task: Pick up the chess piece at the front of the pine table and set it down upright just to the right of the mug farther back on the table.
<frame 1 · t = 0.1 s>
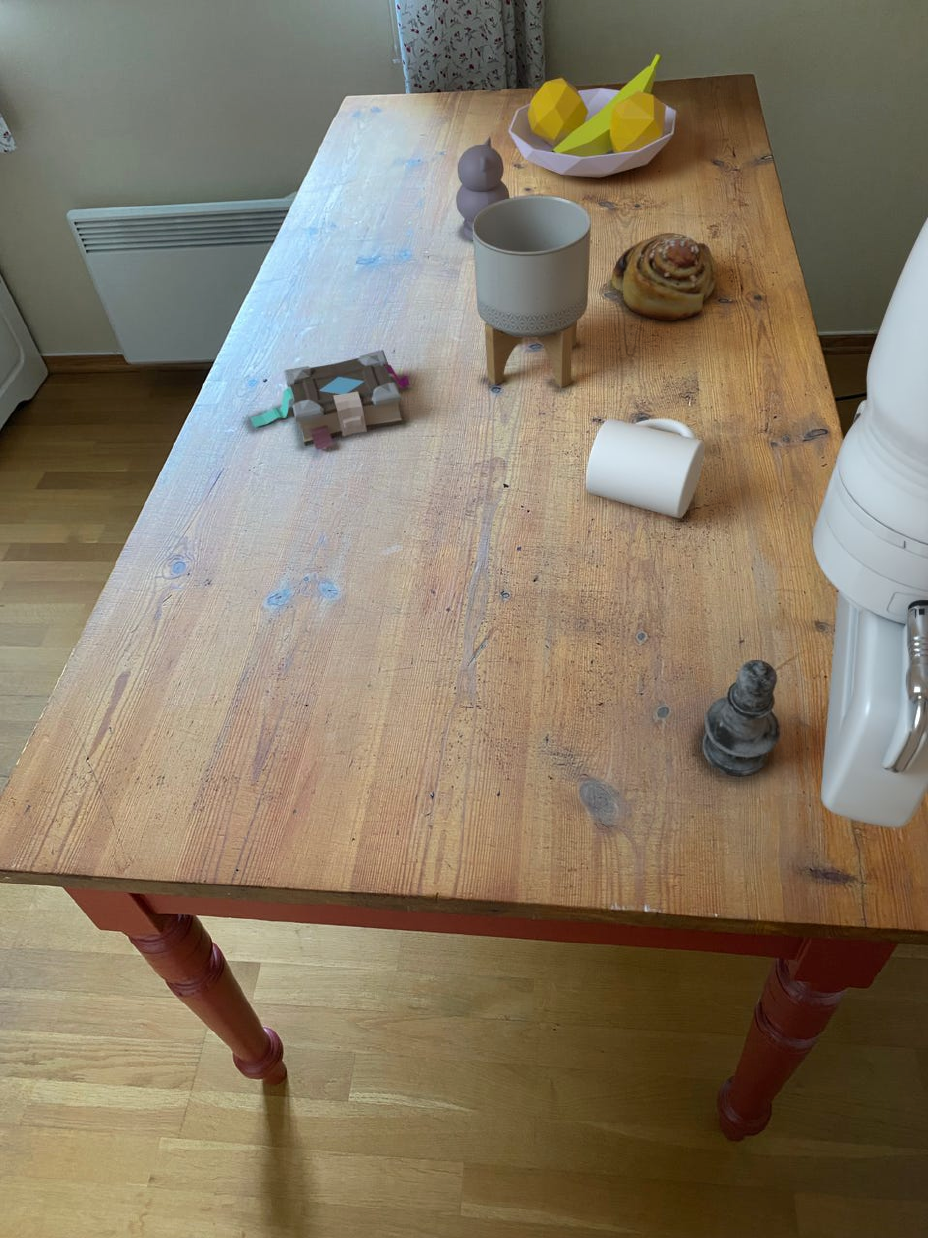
hand: (844, 707, 49), 23 cm above the table, tool pointing down, fingers open, 8 cm apart
mug: (647, 486, 95), on the table
planter: (532, 363, 111), on the table
book: (336, 418, 107), on the table
chess piece: (734, 749, 74), on the table
fruit bowl: (596, 158, 147), on the table
grey bird figurine: (484, 231, 133), on the table
pastry: (665, 290, 120), on the table
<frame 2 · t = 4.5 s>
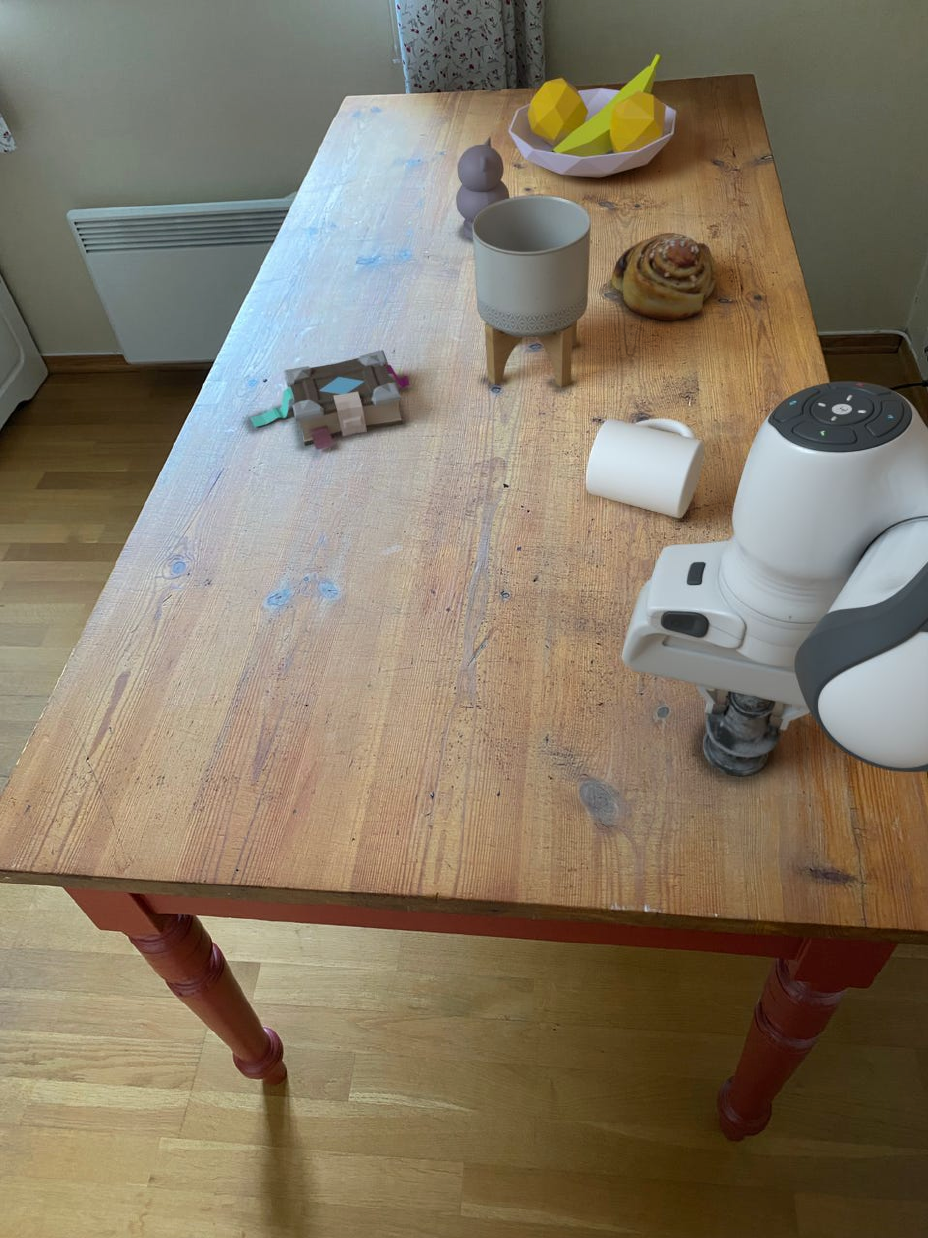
hand: (745, 714, 71), 5 cm above the table, tool pointing down, fingers closed on chess piece, 3 cm apart
chess piece: (734, 749, 74), on the table, touching gripper
everything else where it was.
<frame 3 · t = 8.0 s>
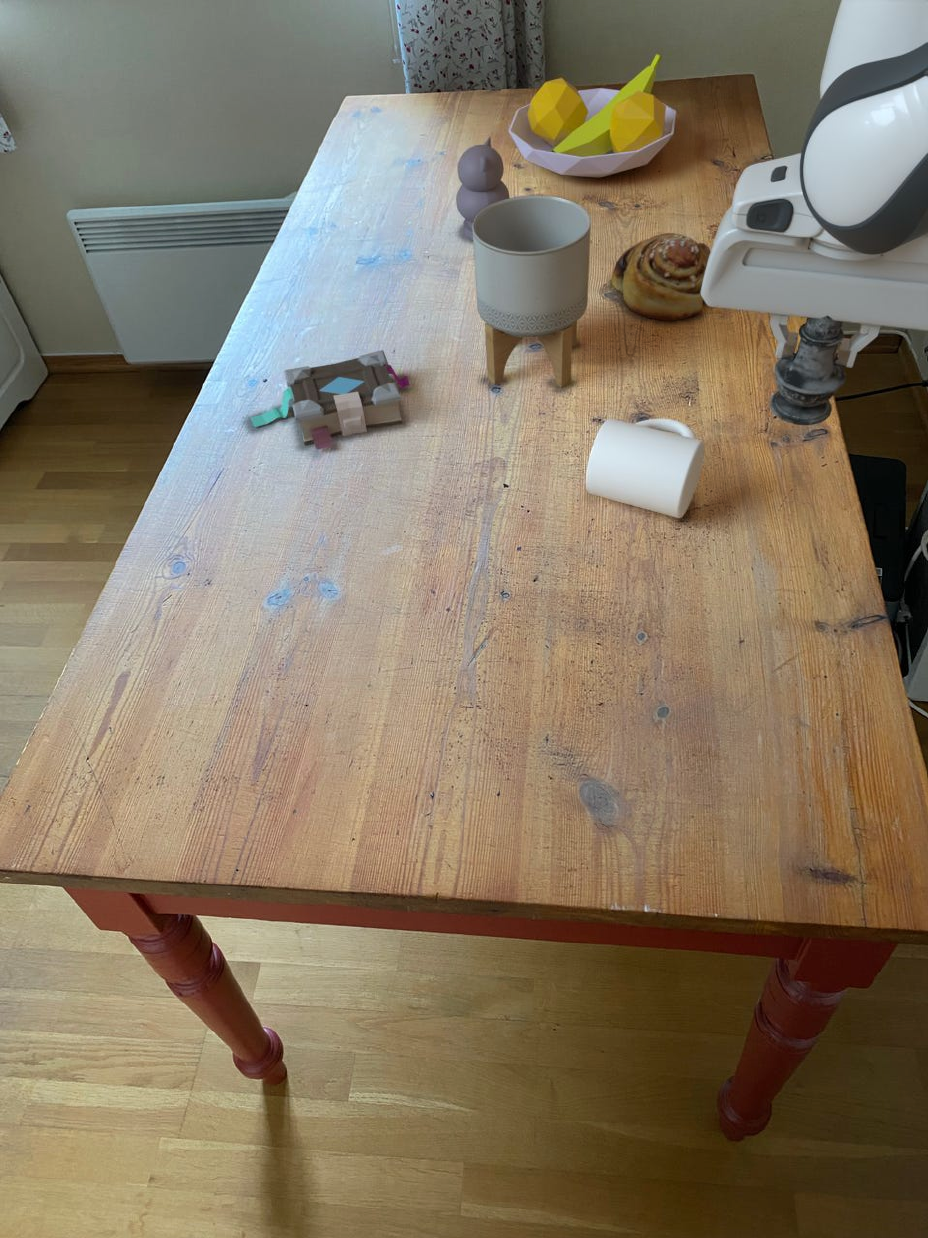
hand: (812, 359, 75), 19 cm above the table, tool pointing down, fingers closed on chess piece, 3 cm apart
chess piece: (799, 408, 79), point 15 cm above the table, touching gripper
everything else where it was.
when the fingers open (4 cm above the table, at t = 11.8 s): chess piece stays where it is, on the table.
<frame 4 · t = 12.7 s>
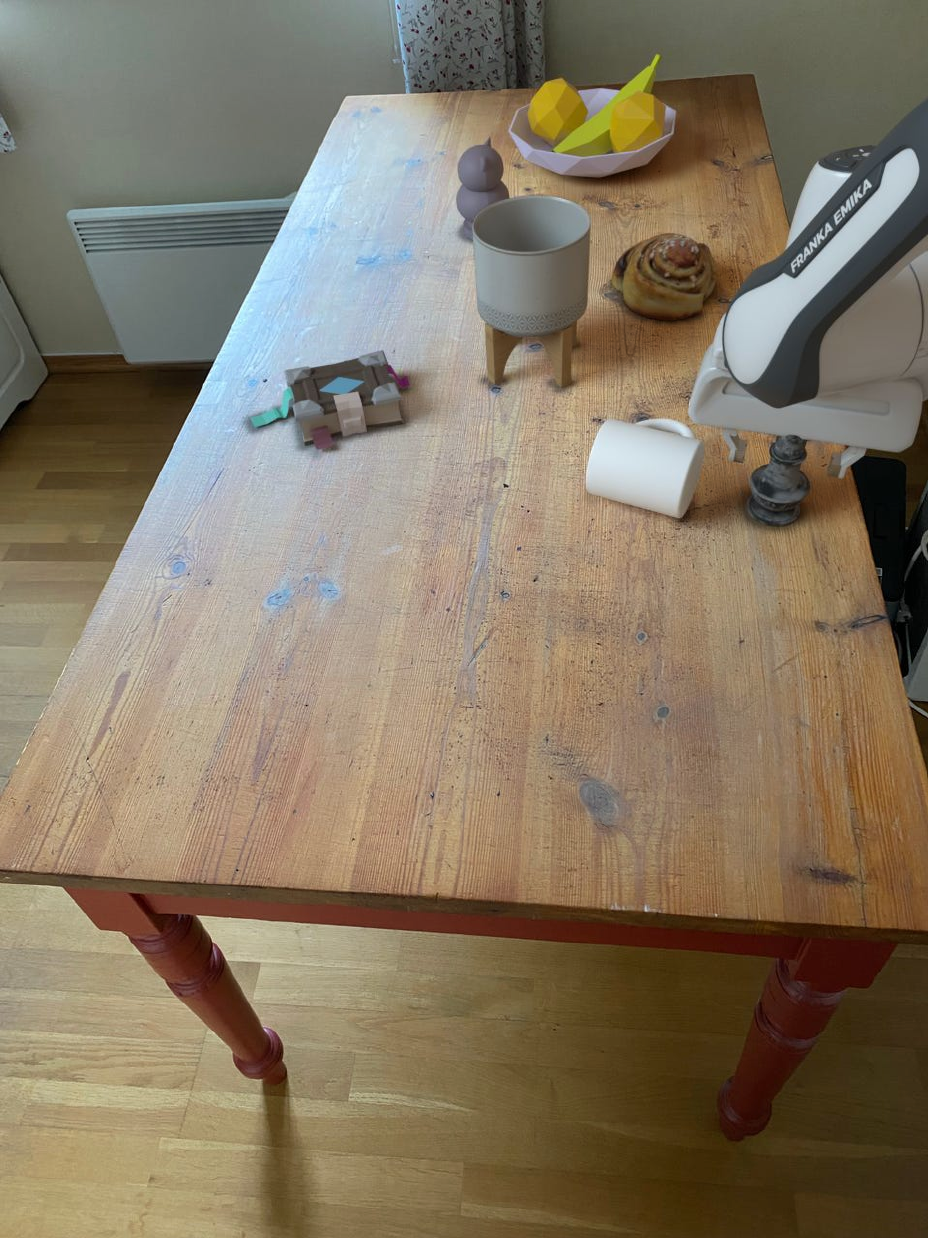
hand: (785, 465, 88), 5 cm above the table, tool pointing down, fingers open, 8 cm apart
chess piece: (772, 509, 92), on the table
everything else where it was.
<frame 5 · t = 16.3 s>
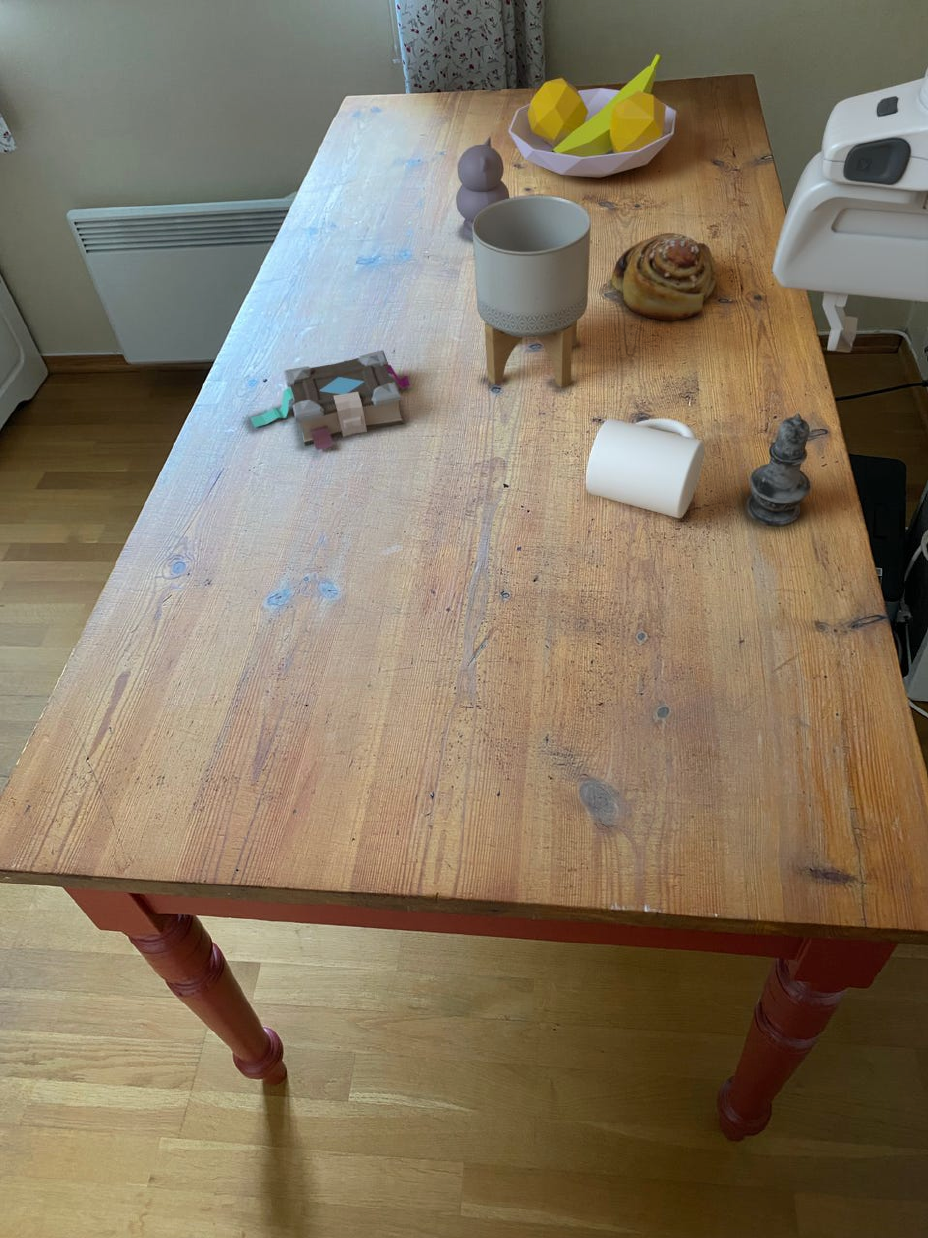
hand: (913, 355, 59), 29 cm above the table, tool pointing down, fingers open, 8 cm apart
nothing on the table moved.
at the end: chess piece inside the target area on the table beside the mug (0.5 cm from its centre), on the table; chess piece tilted 0°; mug moved 0.2 cm from its start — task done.
